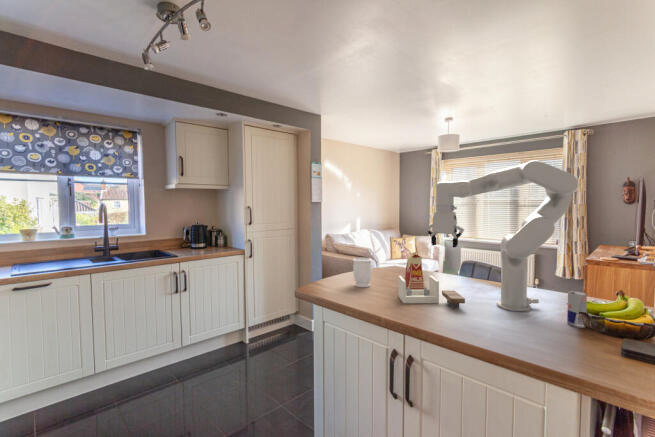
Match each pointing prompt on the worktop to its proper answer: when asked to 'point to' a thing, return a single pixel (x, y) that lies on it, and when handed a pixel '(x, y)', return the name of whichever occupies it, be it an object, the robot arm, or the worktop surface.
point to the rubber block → (453, 305)
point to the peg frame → (419, 292)
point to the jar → (362, 271)
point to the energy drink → (576, 308)
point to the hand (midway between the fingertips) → (444, 246)
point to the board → (453, 297)
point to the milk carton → (414, 273)
